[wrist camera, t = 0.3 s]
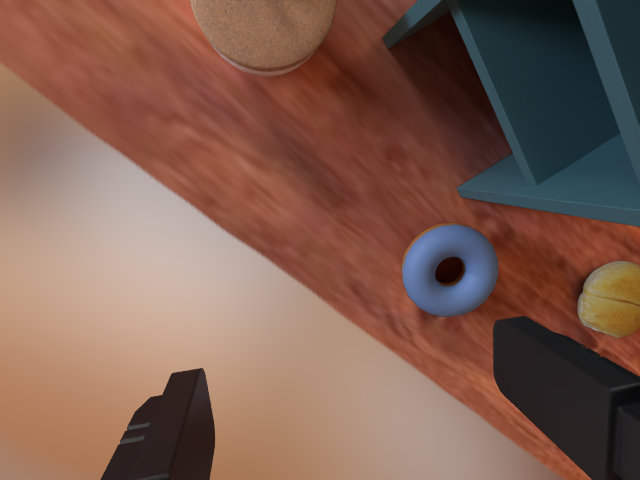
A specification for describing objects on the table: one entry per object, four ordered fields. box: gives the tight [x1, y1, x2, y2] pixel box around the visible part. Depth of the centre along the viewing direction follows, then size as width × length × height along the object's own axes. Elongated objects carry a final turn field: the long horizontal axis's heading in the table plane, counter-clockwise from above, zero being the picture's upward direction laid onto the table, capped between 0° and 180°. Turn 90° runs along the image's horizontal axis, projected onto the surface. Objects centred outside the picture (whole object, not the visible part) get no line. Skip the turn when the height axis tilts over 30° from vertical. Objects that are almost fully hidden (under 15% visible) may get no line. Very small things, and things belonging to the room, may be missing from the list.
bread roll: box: [577, 261, 640, 338], centre depth 45 cm, size 8×9×4 cm
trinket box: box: [190, 0, 337, 76], centre depth 31 cm, size 11×11×9 cm
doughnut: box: [401, 223, 498, 317], centre depth 40 cm, size 10×10×5 cm
